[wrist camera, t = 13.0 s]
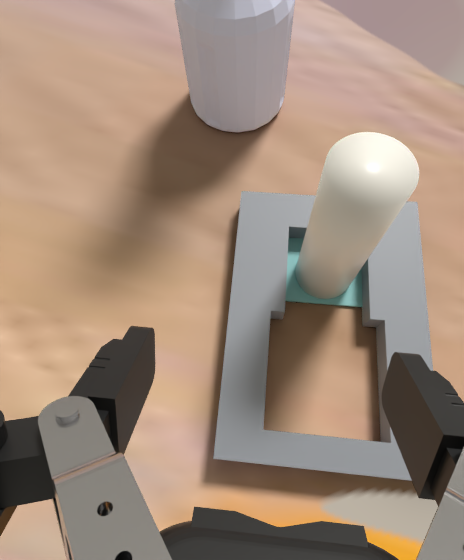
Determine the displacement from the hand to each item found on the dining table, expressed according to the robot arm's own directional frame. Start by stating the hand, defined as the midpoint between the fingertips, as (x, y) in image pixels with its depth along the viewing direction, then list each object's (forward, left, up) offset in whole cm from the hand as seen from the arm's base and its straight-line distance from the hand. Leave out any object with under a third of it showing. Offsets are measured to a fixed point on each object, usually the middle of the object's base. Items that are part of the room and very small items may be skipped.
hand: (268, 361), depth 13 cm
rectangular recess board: (+7, +1, -15) cm, 17 cm away
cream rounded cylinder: (+10, +4, -15) cm, 19 cm away
